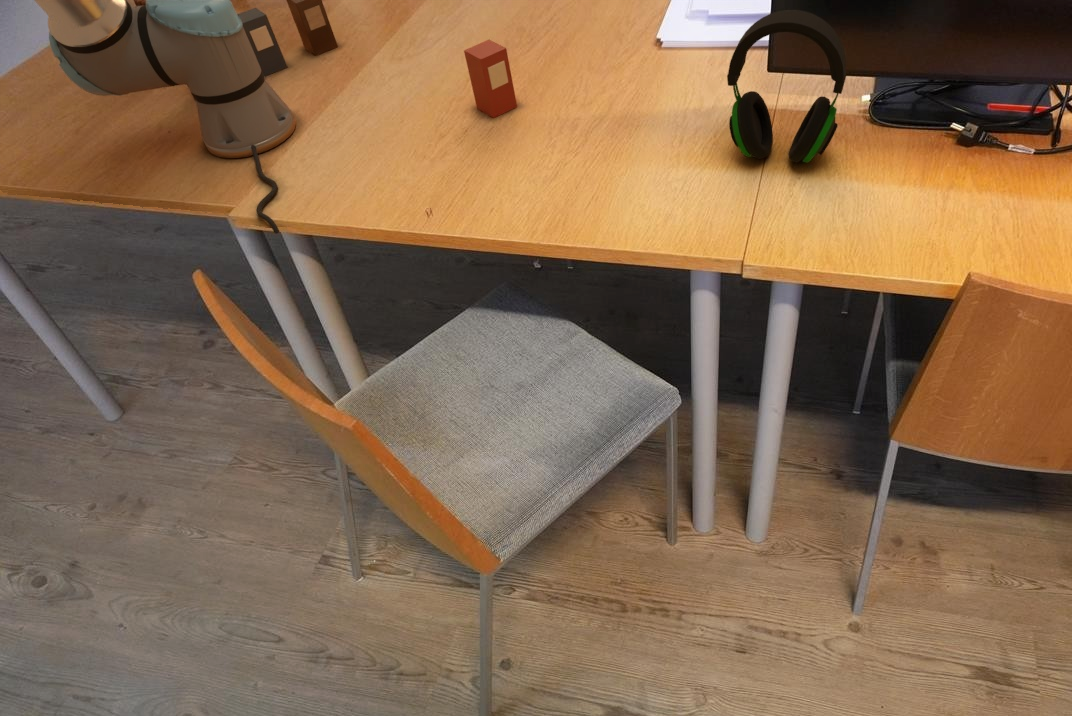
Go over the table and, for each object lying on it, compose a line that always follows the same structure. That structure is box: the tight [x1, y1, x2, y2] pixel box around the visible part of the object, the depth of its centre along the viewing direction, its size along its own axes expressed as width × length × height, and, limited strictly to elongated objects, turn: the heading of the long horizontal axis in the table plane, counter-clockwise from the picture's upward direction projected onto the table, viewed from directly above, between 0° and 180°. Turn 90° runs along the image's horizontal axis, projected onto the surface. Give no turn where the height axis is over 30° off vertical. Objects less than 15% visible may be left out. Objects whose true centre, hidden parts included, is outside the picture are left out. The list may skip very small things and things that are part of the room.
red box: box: [463, 39, 518, 119], centre depth 127 cm, size 5×5×10 cm
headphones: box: [726, 9, 848, 163], centre depth 106 cm, size 9×16×20 cm, turn 71°
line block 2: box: [286, 0, 339, 57], centre depth 150 cm, size 5×5×10 cm
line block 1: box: [237, 7, 288, 78], centre depth 146 cm, size 5×5×10 cm
